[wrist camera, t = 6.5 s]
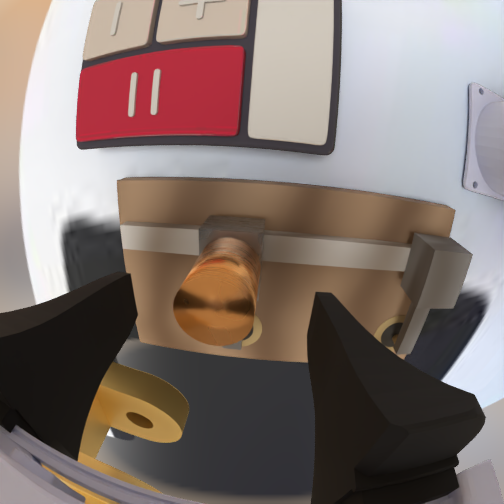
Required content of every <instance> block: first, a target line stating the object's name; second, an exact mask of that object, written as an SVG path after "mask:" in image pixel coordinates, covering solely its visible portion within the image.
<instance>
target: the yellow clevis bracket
mask: <svg viewBox="0 0 504 504" xmlns="http://www.w3.org/2000/svg"><path fill="white" fill-rule="evenodd" d="M188 413H189V404H188V402H187V400H186V399H185V397H184V396H183V395H182V394H181V393H180V392H179V391H178V390H177V389H176V388H175V387H173V386H172V385H171V384H169V383H168V382H166V381H164V380H162V379H161V378H159V377H156V376H154V375H152V374H149V373H146V372H143V371H140V370H136V369H133V368H130V367H127V366H124V365H121V364H117V363H114V362H112V364H111V365H110V367H109V369H108V370H107V372H106V374H105V376H104V377H103V379H102V381H101V384H100V386H99V388H98V391H97V393H96V395H95V398H94V400H93V403H92V406H91V409H90V412H89V414H88V418H87V421H86V425H85V428H84V432H83V435H82V440H81V445H80V450H79V456H78V461H77V462H79V463H81V464H84V465H86V466H88V467H90V468H92V469H94V470H97V471H99V472H101V473H104V474H106V475H108V476H111V477H113V478H116V479H119V480H121V481H124V482H127V483H129V484H132V485H135V486H138V487H141V488H144V489H148V490H151V491H154V492H158V493H161V492H160V491H158V490H157V489H155V488H154V487H152V486H150V485H148V484H146V483H145V482H143V481H141V480H139V479H137V478H135V477H133V476H131V475H128V474H127V473H125V472H122V471H120V470H118V469H116V468H114V467H112V466H110V465H107V464H105V463H103V462H101V461H98V460H96V459H95V458H96V456H97V454H98V452H99V449H100V447H101V445H102V443H103V441H104V439H105V437H106V435H107V433H108V431H109V429H110V426H111V427H114V428H116V429H119V430H121V431H124V432H127V433H130V434H132V435H135V436H138V437H141V438H144V439H147V440H151V441H155V442H164V443H169V442H175V441H177V440H179V439H180V438H181V436H182V433H183V430H184V426H185V423H186V420H187V416H188ZM42 467H44V468H45V469H47V470H48V471H49V472H51V473H52V474H54V475H55V476H56V477H57V478H58V479H60V480H61V481H62V482H63V483H65V484H66V485H67V486H69V487H70V488H71V489H73V490H74V491H76V492H78V493H79V494H81V495H82V496H84V497H85V499H86V500H85V502H84V503H85V504H120V503H117V502H115V501H112V500H110V499H108V498H105V497H103V496H101V495H98V494H96V493H94V492H92V491H90V490H88V489H86V488H84V487H82V486H80V485H78V484H76V483H74V482H72V481H70V480H68V479H66V478H65V477H63V476H61V475H59V474H58V473H56V472H54V471H52V470H51V469H49V468H48V467H46V466H44V465H43V464H42ZM161 494H162V493H161Z"/></svg>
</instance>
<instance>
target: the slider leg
mask: <svg viewBox="0 0 504 504" xmlns="http://www.w3.org/2000/svg"><path fill="white" fill-rule="evenodd" d="M264 230H265V219H260V218H246V217H232V216H216V215H210V216H209V217H208V218H207V219H206V221H205V222H204V223H203V224H202V226H201V227H200V228H199V258H198V259H197V261H196V262H195V264H194V266H193V267H192V269H191V271H190V272H189V274H188V275H187V277H186V279H185V280H184V282H183V284H182V285H181V287H180V289H179V290H178V292H177V294H176V296H175V298H174V302H173V312H174V316H175V319H176V321H177V323H178V324H179V326H180V327H181V328H182V330H183V331H184V332H185V333H186V334H188V335H189V336H190V337H192V338H193V339H195V340H197V341H199V342H202V343H204V344H208V345H213V346H223V348H227V349H235V350H241V347H242V339H244V338H245V337H246V336H247V335H248V334H249V332H250V331H251V329H252V327H253V323H254V316H255V309H256V301H258V300H259V291H260V283H261V272H262V259H263V245H264Z"/></svg>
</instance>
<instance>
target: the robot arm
mask: <svg viewBox="0 0 504 504" xmlns="http://www.w3.org/2000/svg"><path fill="white" fill-rule="evenodd" d="M479 90H480V92H481V94H480V93H479ZM473 182H474V187H473ZM463 185H464V188H465V189H467V190H470V191H473V192H477V193H480V194H484V195H487V196H490V197H493V198H496V199H500V200H503V201H504V98H502V97H500V96H499V95H497V94H495V93H494V92H492V91H490V90H488V89H486V88H484V87H483V86H481V85H479V84H477V83H471V84H470V85H469V131H468V145H467V155H466V164H465V172H464V179H463ZM137 317H138V312H137V307H136V301H135V296H134V290H133V285H132V278H131V273H124V272H116V273H113V274H110V275H107V276H105V277H102V278H100V279H98V280H96V281H93V282H91V283H89V284H87V285H85V286H82V287H80V288H78V289H76V290H73V291H71V292H69V293H66V294H64V295H62V296H59V297H57V298H55V299H52V300H49V301H46V302H44V303H41V304H37V305H34V306H31V307H27V308H23V309H19V310H15V311H11V312H5V313H0V504H85V503H84V502H85V500H86V499H85V497H84V496H82V495H81V494H79V493H78V492H76V491H74V490H73V489H71V488H70V487H69V486H67V485H66V484H65V483H63V482H62V481H61V480H60V479H58V478H57V477H56V476H55V475H54V474H52V473H51V472H49V471H48V470H47V469H45V468H44V467H42V464H43V465H44V466H46V467H48V468H49V469H51V470H52V471H54V472H56V473H58V474H59V475H61V476H63V477H65V478H66V479H68V480H70V481H72V482H74V483H76V484H78V485H80V486H82V487H84V488H86V489H88V490H90V491H92V492H94V493H96V494H98V495H101V496H103V497H105V498H108V499H110V500H112V501H115V502H117V503H120V504H205V503H200V502H195V501H190V500H185V499H181V498H176V497H173V496H169V495H165V494H161V493H158V492H154V491H151V490H148V489H144V488H141V487H138V486H135V485H132V484H129V483H127V482H124V481H121V480H119V479H116V478H113V477H111V476H108V475H106V474H104V473H101V472H99V471H97V470H94V469H92V468H90V467H88V466H86V465H84V464H81V463H79V462H77V461H78V456H79V450H80V445H81V440H82V435H83V432H84V428H85V425H86V421H87V418H88V414H89V412H90V409H91V406H92V403H93V400H94V398H95V395H96V393H97V391H98V388H99V386H100V384H101V381H102V379H103V377H104V376H105V374H106V372H107V370H108V369H109V367H110V365H111V364H112V362H113V360H114V359H115V357H116V356H117V354H118V352H119V351H120V349H121V348H122V346H123V344H124V343H125V341H126V340H127V338H128V336H129V335H130V332H131V330H132V328H133V326H134V324H135V321H136V319H137ZM307 358H308V365H309V372H310V379H311V385H312V392H313V398H314V407H315V461H314V462H315V463H314V477H313V488H312V498H311V504H504V501H503V498H502V494H501V490H500V487H499V483H498V480H497V477H496V474H495V471H494V468H493V465H492V462H491V460H490V459H488V460H486V461H484V462H482V463H480V464H477V465H475V466H473V467H470V468H468V469H466V470H464V471H462V472H460V473H459V474H457V475H456V473H455V469H454V467H456V466H457V465H458V464H459V460H458V457H457V454H458V453H459V452H460V451H461V450H462V449H463V448H464V447H465V446H466V445H467V444H468V443H469V442H470V441H472V440H473V438H474V437H475V436H476V435H477V434H478V433H479V432H480V430H481V429H482V427H483V425H484V423H485V418H486V417H485V415H484V413H483V411H482V409H481V407H480V405H479V403H478V401H477V399H476V397H475V395H474V394H472V393H469V392H466V391H464V390H461V389H458V388H456V387H453V386H450V385H448V384H446V383H444V382H442V381H440V380H437V379H435V378H433V377H431V376H429V375H428V374H426V373H424V372H422V371H420V370H419V369H417V368H416V367H414V366H412V365H411V364H409V363H408V362H406V361H404V360H403V359H402V358H400V357H399V356H397V355H396V354H395V353H393V352H392V351H391V350H389V349H388V348H387V347H386V346H384V345H383V344H382V343H381V342H379V341H378V340H377V339H376V338H375V337H374V336H373V335H372V334H371V333H370V332H368V331H367V330H366V329H365V328H364V327H363V326H362V325H361V324H360V323H359V322H358V321H357V320H356V319H355V318H354V316H353V315H352V314H351V313H350V312H349V311H348V310H347V309H346V308H345V307H344V306H343V304H342V303H341V302H340V301H339V300H338V299H337V298H336V297H335V296H334V295H333V294H332V293H329V292H315V297H314V302H313V307H312V312H311V317H310V322H309V327H308V332H307Z"/></svg>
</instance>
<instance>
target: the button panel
mask: <svg viewBox="0 0 504 504" xmlns="http://www.w3.org/2000/svg"><path fill="white" fill-rule="evenodd" d="M341 40H342V0H96V1H95V3H94V5H93V9H92V13H91V17H90V21H89V26H88V30H87V35H86V40H85V46H84V51H83V63H82V70H81V73H80V80H79V89H78V101H77V117H76V140H77V146H78V148H79V149H95V148H107V147H122V146H144V145H211V146H233V147H249V148H262V149H274V150H284V151H293V152H302V153H310V154H317V155H329V154H331V153H332V152H333V150H334V147H335V138H336V128H337V116H338V103H339V89H340V70H341Z"/></svg>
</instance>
